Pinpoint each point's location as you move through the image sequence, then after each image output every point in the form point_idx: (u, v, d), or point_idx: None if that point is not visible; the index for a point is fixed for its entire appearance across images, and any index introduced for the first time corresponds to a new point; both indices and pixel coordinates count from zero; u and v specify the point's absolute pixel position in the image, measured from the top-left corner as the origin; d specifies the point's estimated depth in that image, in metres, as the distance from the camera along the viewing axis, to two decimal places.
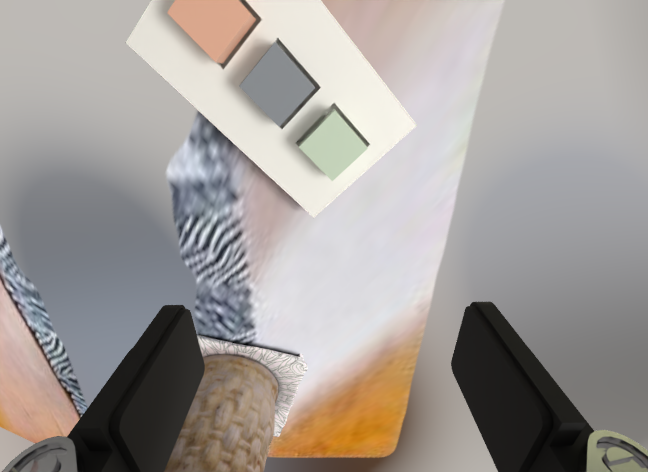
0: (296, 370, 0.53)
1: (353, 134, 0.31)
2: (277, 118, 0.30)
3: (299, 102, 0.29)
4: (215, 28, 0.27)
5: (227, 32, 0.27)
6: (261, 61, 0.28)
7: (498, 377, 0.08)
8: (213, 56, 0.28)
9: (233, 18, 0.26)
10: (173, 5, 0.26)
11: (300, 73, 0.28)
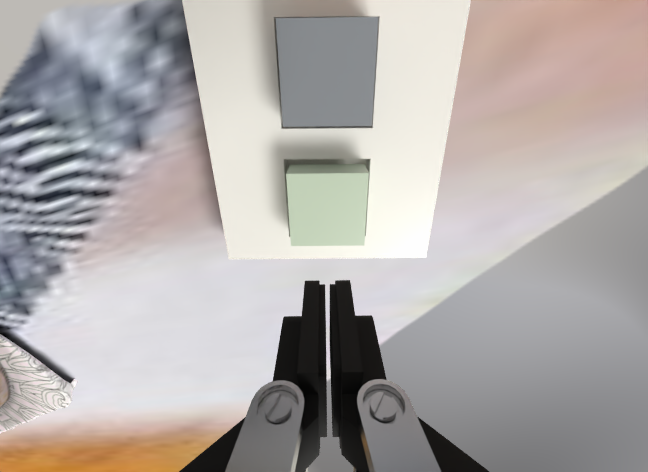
0: (50, 399, 0.34)
1: (363, 217, 0.20)
2: (290, 114, 0.17)
3: (337, 123, 0.17)
4: None
5: None
6: (337, 21, 0.15)
7: (331, 343, 0.09)
8: None
9: None
10: None
11: (371, 91, 0.17)
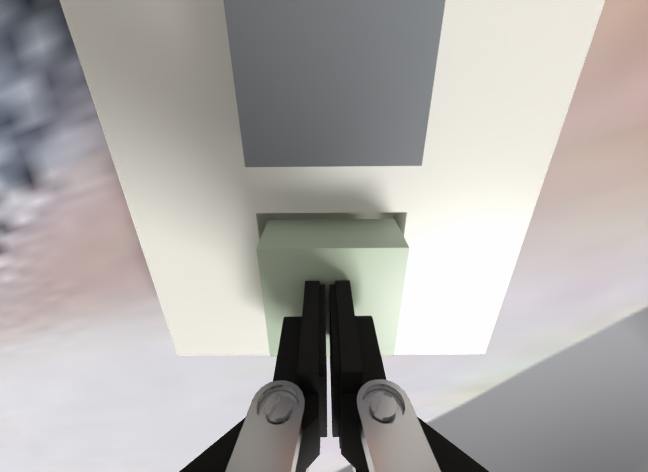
0: None
1: (395, 316, 0.11)
2: (260, 144, 0.08)
3: (353, 161, 0.09)
4: None
5: None
6: None
7: (331, 343, 0.09)
8: None
9: None
10: None
11: (426, 97, 0.08)
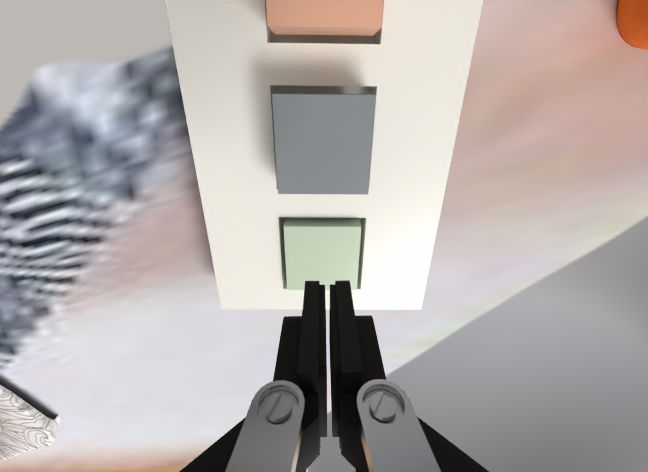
0: (32, 438, 0.33)
1: (356, 265, 0.21)
2: (286, 183, 0.17)
3: (333, 191, 0.17)
4: None
5: (326, 9, 0.13)
6: (334, 98, 0.15)
7: (331, 343, 0.09)
8: (272, 15, 0.13)
9: (353, 1, 0.13)
10: None
11: (368, 162, 0.16)
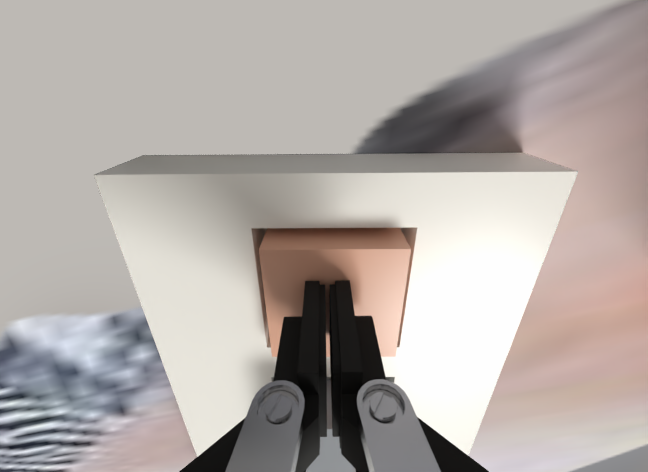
0: None
1: None
2: None
3: None
4: None
5: None
6: None
7: (331, 343, 0.09)
8: (277, 350, 0.12)
9: None
10: (284, 252, 0.10)
11: None
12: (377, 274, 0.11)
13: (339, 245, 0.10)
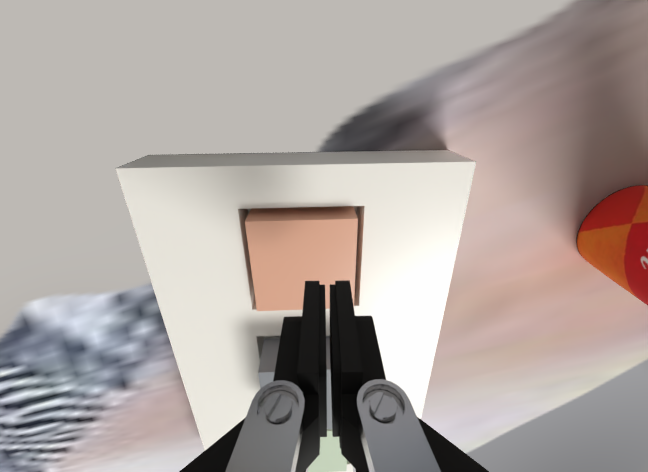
0: None
1: None
2: None
3: None
4: (296, 286, 0.15)
5: None
6: None
7: (331, 343, 0.09)
8: (260, 305, 0.16)
9: (328, 294, 0.16)
10: (263, 223, 0.14)
11: None
12: (334, 239, 0.14)
13: (305, 217, 0.14)
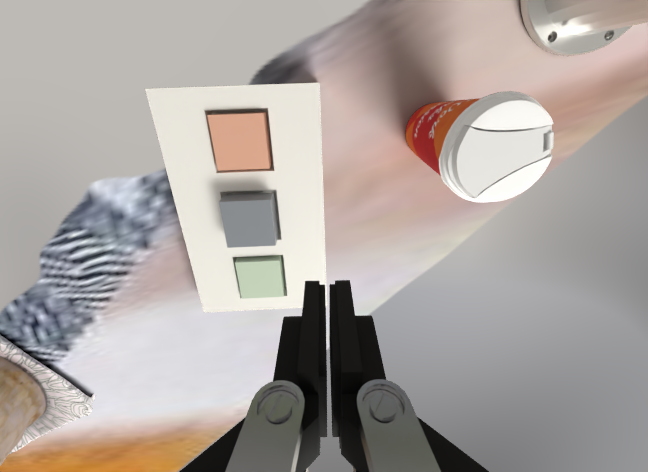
0: (76, 410, 0.47)
1: (280, 282, 0.36)
2: (231, 242, 0.32)
3: (256, 245, 0.32)
4: (236, 154, 0.29)
5: (243, 163, 0.30)
6: (250, 202, 0.30)
7: (331, 343, 0.09)
8: (219, 166, 0.30)
9: (254, 159, 0.30)
10: (216, 116, 0.28)
11: (272, 230, 0.31)
12: (253, 125, 0.28)
13: (237, 113, 0.28)
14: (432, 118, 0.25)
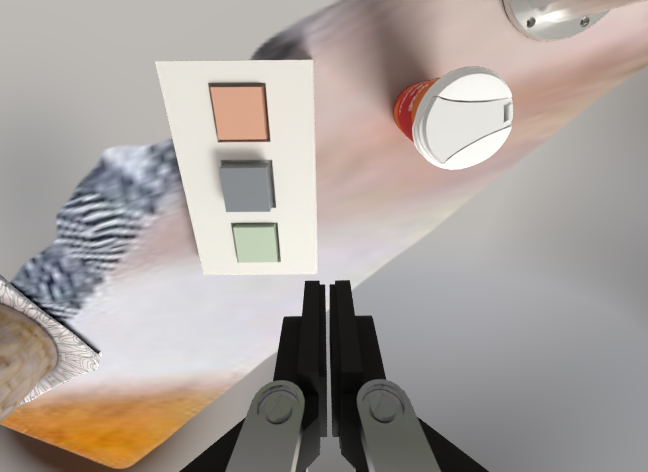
0: (85, 364, 0.51)
1: (274, 248, 0.39)
2: (229, 206, 0.35)
3: (252, 210, 0.35)
4: (236, 124, 0.32)
5: (242, 133, 0.33)
6: (247, 169, 0.33)
7: (331, 343, 0.09)
8: (220, 136, 0.33)
9: (252, 130, 0.32)
10: (218, 88, 0.31)
11: (267, 196, 0.34)
12: (251, 97, 0.31)
13: (238, 87, 0.31)
14: (413, 94, 0.28)
